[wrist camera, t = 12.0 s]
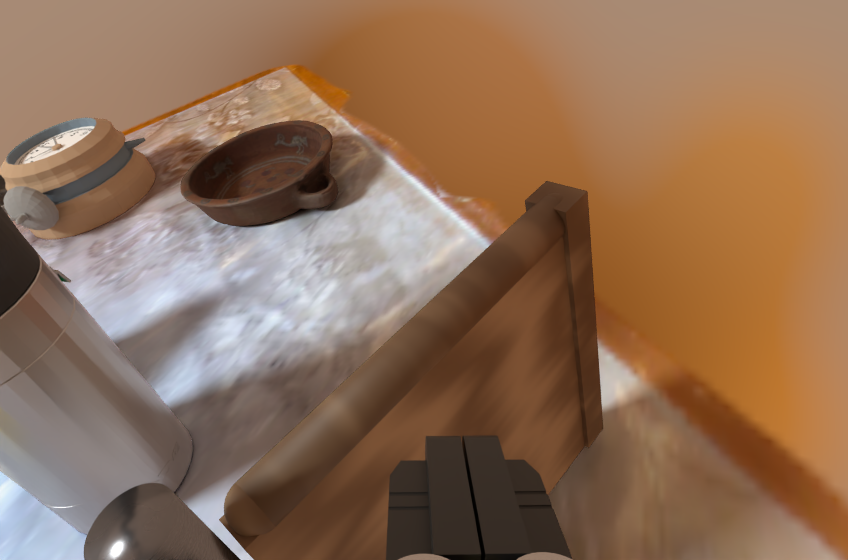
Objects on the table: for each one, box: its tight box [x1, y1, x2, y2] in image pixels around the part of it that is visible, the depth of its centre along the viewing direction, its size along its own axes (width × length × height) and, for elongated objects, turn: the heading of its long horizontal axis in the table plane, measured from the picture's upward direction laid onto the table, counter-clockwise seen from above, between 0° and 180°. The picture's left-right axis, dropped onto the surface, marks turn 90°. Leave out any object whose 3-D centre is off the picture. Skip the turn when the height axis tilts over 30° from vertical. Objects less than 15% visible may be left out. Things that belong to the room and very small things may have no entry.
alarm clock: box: [0, 118, 156, 239], centre depth 75 cm, size 17×9×23 cm
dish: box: [181, 120, 338, 226], centre depth 68 cm, size 18×22×5 cm
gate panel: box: [219, 181, 603, 560], centre depth 26 cm, size 18×2×17 cm, turn 138°
